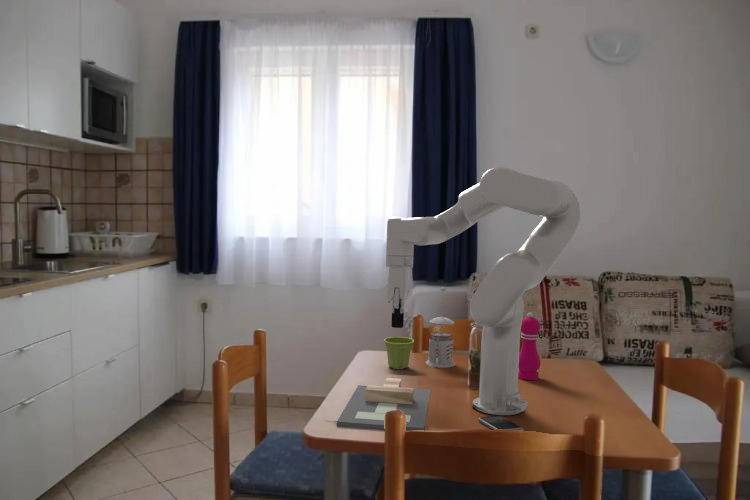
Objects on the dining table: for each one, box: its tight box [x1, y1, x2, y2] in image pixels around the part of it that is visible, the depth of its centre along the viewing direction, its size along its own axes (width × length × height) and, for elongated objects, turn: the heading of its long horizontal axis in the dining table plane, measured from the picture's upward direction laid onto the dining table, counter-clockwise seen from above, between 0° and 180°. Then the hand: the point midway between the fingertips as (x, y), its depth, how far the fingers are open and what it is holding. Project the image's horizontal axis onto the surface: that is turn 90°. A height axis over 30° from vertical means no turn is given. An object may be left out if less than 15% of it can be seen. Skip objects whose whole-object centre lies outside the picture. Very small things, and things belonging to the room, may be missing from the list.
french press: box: [425, 286, 456, 368], centre depth 205 cm, size 10×12×25 cm
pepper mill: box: [518, 311, 541, 381], centre depth 191 cm, size 7×7×20 cm
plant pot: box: [383, 336, 415, 370], centre depth 200 cm, size 9×9×9 cm
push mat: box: [336, 384, 431, 431], centre depth 159 cm, size 30×20×1 cm, turn 172°
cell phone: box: [478, 414, 525, 431], centre depth 148 cm, size 6×11×1 cm, turn 23°
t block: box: [365, 377, 415, 404], centre depth 166 cm, size 12×12×3 cm
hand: (397, 327), depth 177 cm, fingers closed
